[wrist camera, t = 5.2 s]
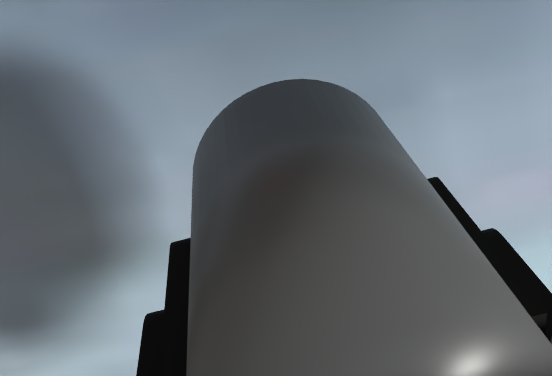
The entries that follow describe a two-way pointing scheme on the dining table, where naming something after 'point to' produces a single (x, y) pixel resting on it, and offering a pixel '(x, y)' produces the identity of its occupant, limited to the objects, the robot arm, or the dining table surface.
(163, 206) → the dining table surface
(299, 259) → the plug
